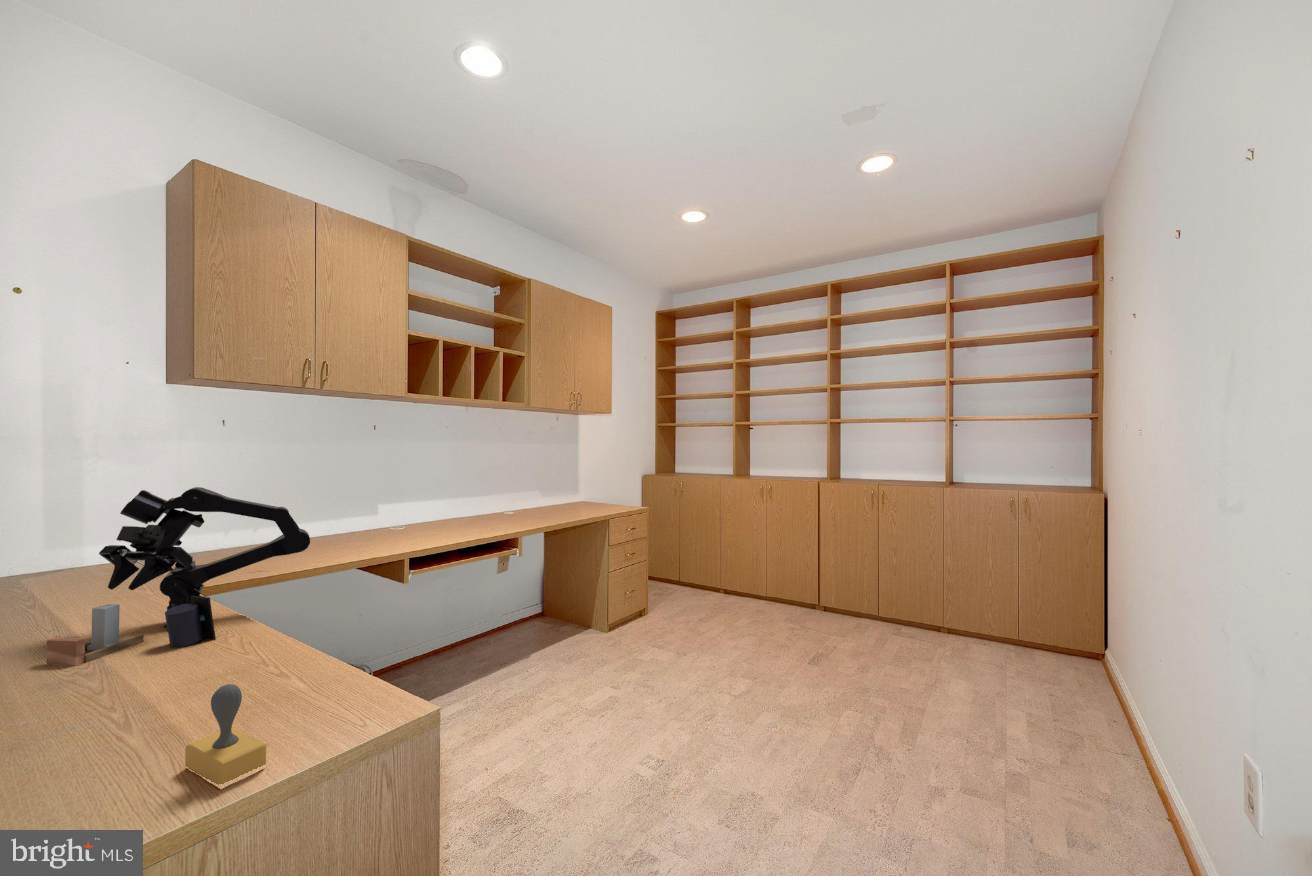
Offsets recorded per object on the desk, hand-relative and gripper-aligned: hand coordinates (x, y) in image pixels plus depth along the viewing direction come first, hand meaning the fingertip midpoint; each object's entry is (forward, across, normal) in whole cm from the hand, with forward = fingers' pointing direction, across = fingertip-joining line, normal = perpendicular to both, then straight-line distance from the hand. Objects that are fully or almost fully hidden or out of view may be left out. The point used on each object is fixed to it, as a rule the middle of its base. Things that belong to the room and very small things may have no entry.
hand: (119, 588), depth 120 cm
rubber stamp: (+38, +63, -20) cm, 76 cm away
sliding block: (+11, 0, +7) cm, 13 cm away
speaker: (+8, +15, +10) cm, 20 cm away
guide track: (+13, 0, +5) cm, 14 cm away
